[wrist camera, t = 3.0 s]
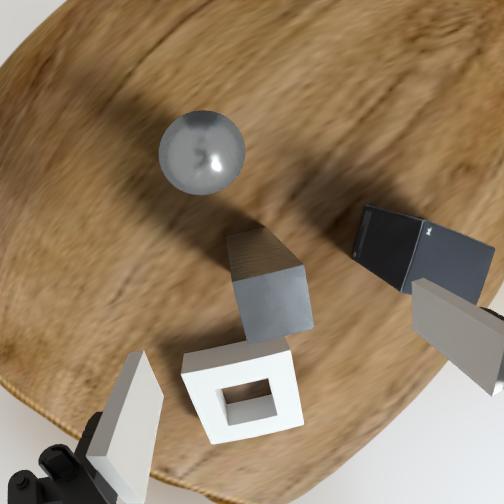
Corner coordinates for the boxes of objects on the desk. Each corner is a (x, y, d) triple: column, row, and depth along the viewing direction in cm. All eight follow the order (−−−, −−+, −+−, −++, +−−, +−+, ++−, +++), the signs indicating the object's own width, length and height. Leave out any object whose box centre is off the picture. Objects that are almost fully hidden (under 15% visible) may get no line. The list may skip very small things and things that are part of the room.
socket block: (183, 353, 33) (180, 374, 29) (282, 331, 34) (290, 349, 30) (211, 422, 36) (211, 444, 32) (296, 403, 36) (304, 424, 32)
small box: (347, 262, 33) (397, 296, 22) (364, 202, 31) (422, 214, 21) (420, 279, 34) (476, 311, 24) (436, 227, 33) (497, 245, 23)
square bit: (225, 236, 31) (231, 282, 17) (265, 226, 31) (303, 264, 17) (234, 274, 32) (248, 345, 18) (273, 265, 32) (314, 328, 18)
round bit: (181, 148, 28) (151, 122, 15) (226, 137, 28) (235, 102, 15) (191, 192, 29) (169, 204, 16) (236, 182, 30) (253, 184, 16)
